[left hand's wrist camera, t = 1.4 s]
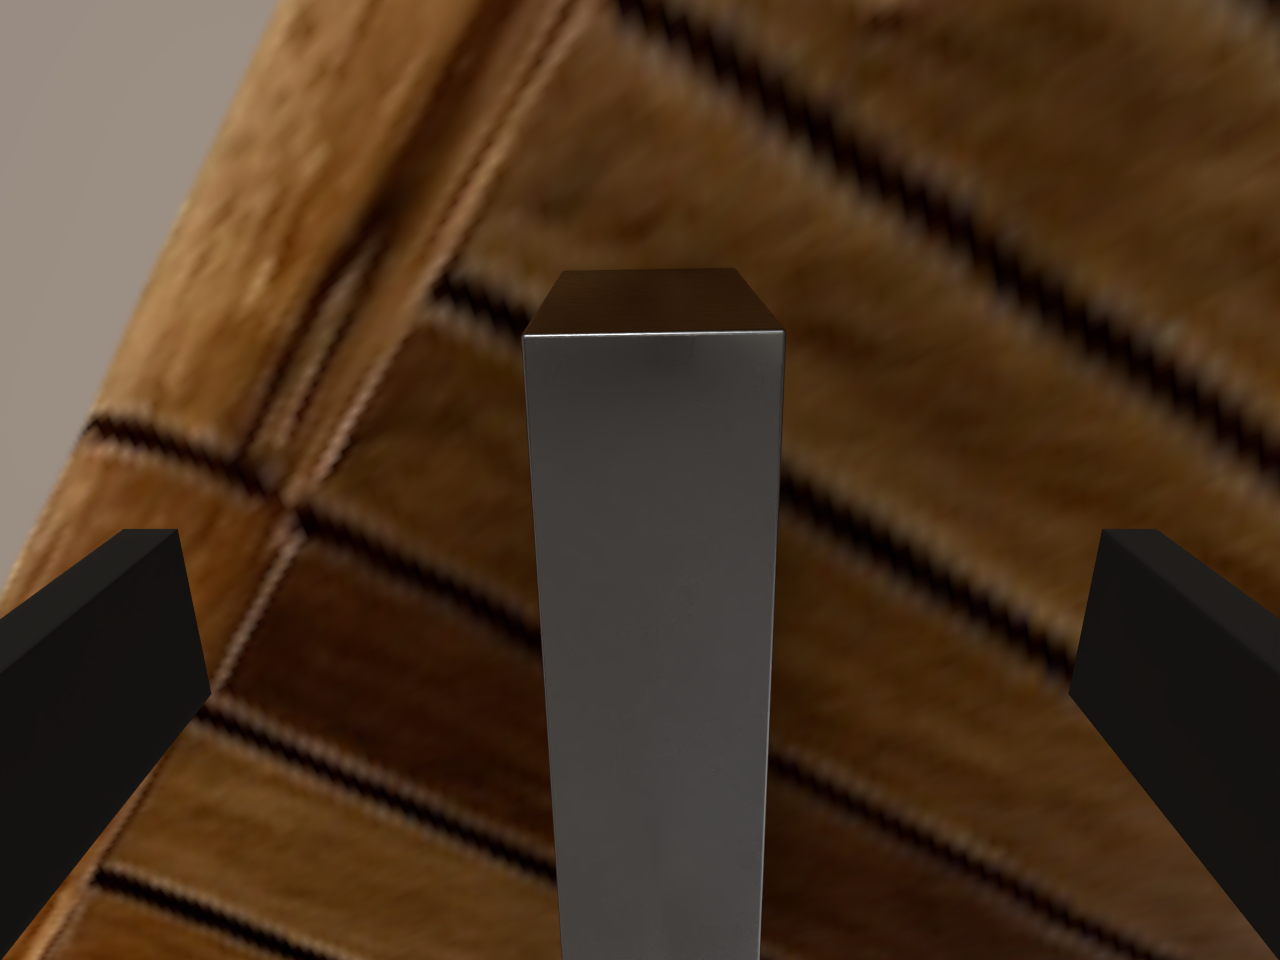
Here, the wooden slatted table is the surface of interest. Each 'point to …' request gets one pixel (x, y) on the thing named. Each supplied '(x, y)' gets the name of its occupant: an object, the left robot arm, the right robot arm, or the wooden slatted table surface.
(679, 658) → the bar
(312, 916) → the wooden slatted table surface
